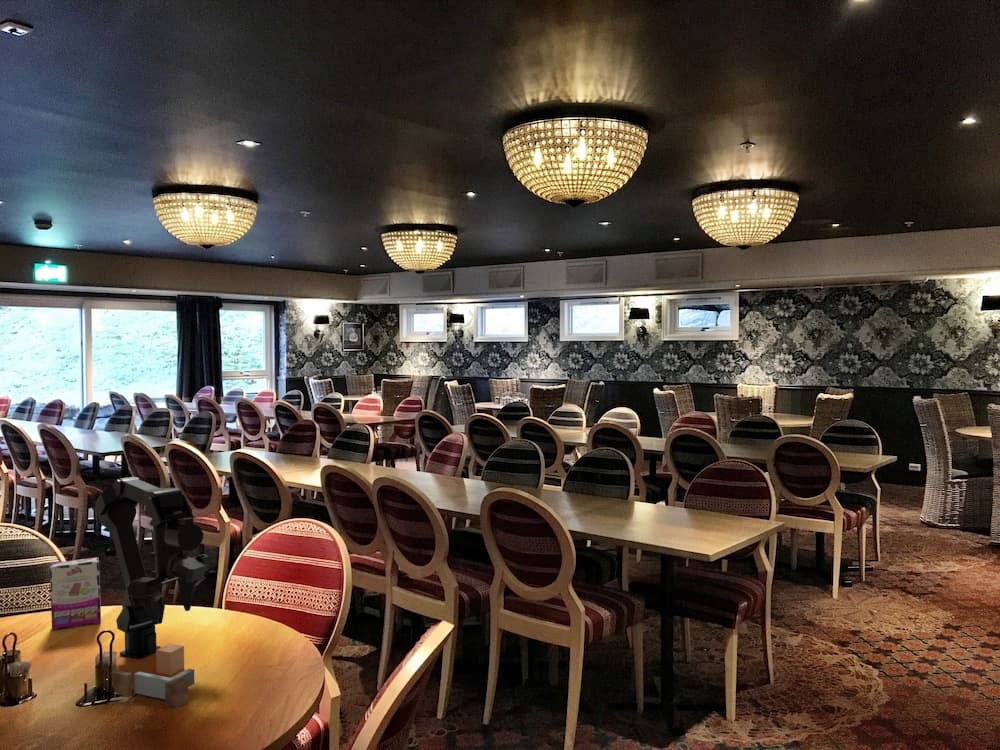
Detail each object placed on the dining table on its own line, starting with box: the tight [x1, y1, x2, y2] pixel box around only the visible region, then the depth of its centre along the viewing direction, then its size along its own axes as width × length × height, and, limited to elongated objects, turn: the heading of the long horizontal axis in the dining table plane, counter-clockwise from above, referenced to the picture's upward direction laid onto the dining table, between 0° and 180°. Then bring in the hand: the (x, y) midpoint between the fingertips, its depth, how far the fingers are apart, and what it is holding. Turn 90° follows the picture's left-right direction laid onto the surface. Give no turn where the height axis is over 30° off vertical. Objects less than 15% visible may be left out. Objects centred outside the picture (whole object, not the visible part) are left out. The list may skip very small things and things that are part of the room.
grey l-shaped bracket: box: [133, 668, 195, 700], centre depth 161 cm, size 10×7×4 cm
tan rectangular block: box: [155, 643, 185, 676], centre depth 172 cm, size 4×4×5 cm
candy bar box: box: [49, 556, 102, 631], centre depth 200 cm, size 11×5×16 cm, turn 117°
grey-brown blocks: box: [111, 669, 189, 709], centre depth 159 cm, size 20×3×4 cm, turn 69°
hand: (172, 616), depth 171 cm, fingers open, 9 cm apart
